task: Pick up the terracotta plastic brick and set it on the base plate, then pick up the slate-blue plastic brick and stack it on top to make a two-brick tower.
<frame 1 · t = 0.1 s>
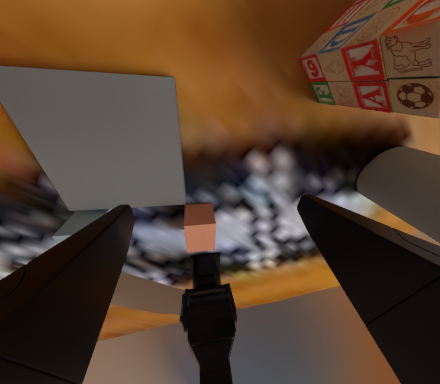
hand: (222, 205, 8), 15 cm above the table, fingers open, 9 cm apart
terracotta brick: (199, 216, 28), on the table
water bottle: (378, 171, 29), on the table
base plate: (116, 152, 20), on the table
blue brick: (100, 223, 25), on the table
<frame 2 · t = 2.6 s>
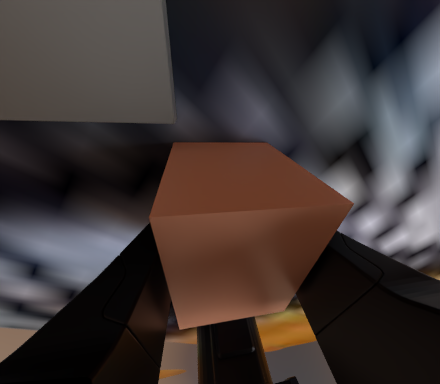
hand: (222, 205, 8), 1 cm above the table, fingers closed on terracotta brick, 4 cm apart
terracotta brick: (219, 194, 9), on the table, touching gripper
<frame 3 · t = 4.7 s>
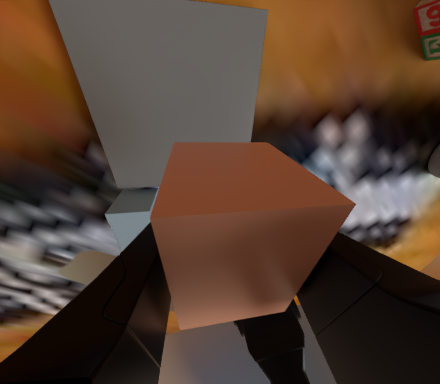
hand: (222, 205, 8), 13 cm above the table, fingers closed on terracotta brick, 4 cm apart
terracotta brick: (220, 194, 9), point 12 cm above the table, touching gripper
base plate: (179, 115, 17), on the table
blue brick: (145, 206, 22), on the table
when the fingers open (3 cm above the table, at t = 7.0 s): terracotta brick stays where it is, resting on base plate.
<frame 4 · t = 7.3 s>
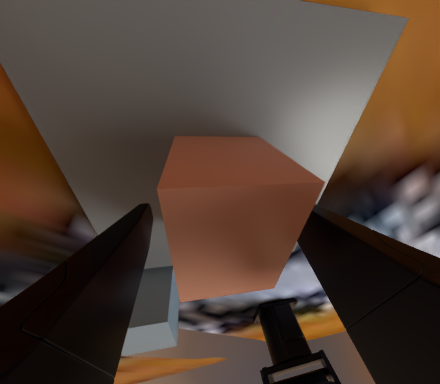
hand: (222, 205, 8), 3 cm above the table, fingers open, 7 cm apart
terracotta brick: (217, 185, 10), point 1 cm above the table, touching base plate
base plate: (214, 176, 11), on the table
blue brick: (155, 278, 16), on the table
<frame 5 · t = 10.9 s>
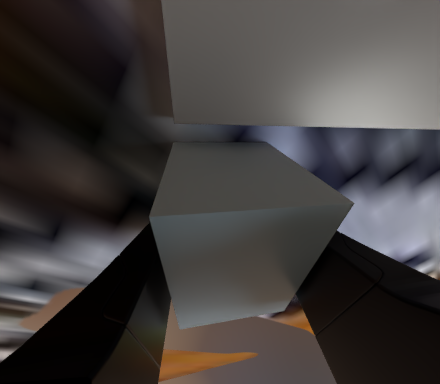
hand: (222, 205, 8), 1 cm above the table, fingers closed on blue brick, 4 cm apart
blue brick: (219, 194, 9), on the table, touching gripper
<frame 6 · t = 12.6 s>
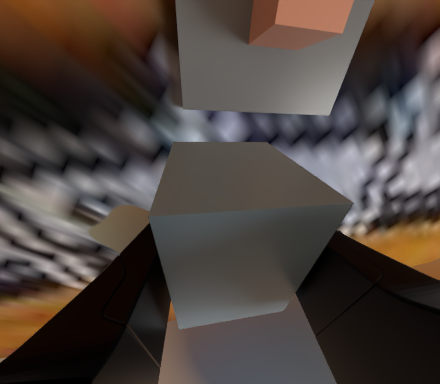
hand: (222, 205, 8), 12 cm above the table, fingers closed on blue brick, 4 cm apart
base plate: (275, 2, 13), on the table
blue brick: (219, 194, 9), point 11 cm above the table, touching gripper
when the fingers open (8 cm above the table, at t = 14.4 s): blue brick stays where it is, resting on terracotta brick.
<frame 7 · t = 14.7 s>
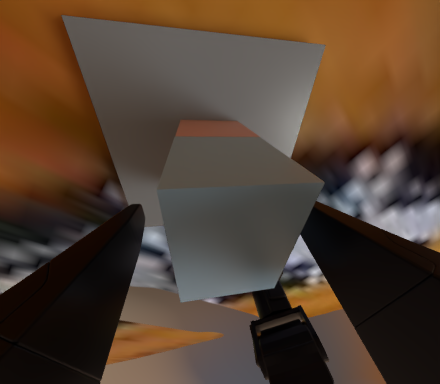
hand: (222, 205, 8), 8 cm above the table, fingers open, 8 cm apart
terracotta brick: (209, 156, 14), point 1 cm above the table, touching base plate, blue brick
base plate: (208, 152, 15), on the table
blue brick: (217, 185, 10), point 6 cm above the table, touching terracotta brick
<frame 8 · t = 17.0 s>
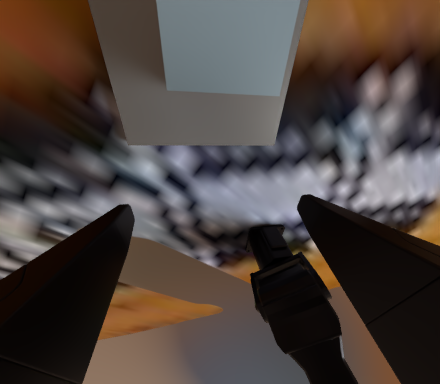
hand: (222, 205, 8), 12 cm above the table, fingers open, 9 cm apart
base plate: (205, 50, 14), on the table
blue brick: (213, 27, 9), point 6 cm above the table, touching terracotta brick
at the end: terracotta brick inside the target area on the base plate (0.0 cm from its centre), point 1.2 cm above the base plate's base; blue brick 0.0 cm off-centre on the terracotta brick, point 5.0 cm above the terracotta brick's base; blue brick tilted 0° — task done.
